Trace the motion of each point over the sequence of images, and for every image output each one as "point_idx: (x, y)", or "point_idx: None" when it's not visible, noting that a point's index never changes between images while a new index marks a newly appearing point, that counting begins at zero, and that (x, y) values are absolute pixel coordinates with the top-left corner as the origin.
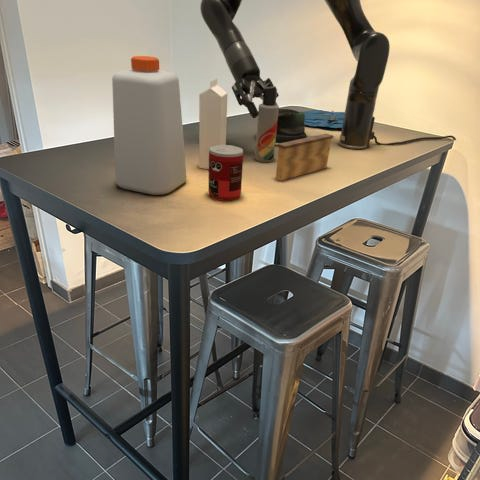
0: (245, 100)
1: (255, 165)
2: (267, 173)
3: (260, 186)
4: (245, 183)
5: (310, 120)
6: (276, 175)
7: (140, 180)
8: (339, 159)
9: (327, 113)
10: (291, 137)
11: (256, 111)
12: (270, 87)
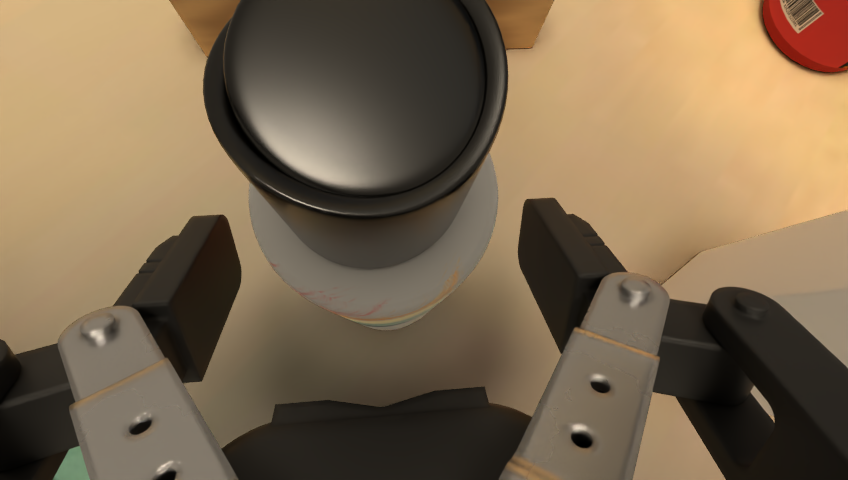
0: (720, 295)
1: None
2: (515, 115)
3: (640, 22)
4: (677, 74)
5: None
6: (536, 34)
7: None
8: (15, 82)
9: None
10: None
11: (555, 206)
12: (371, 46)
